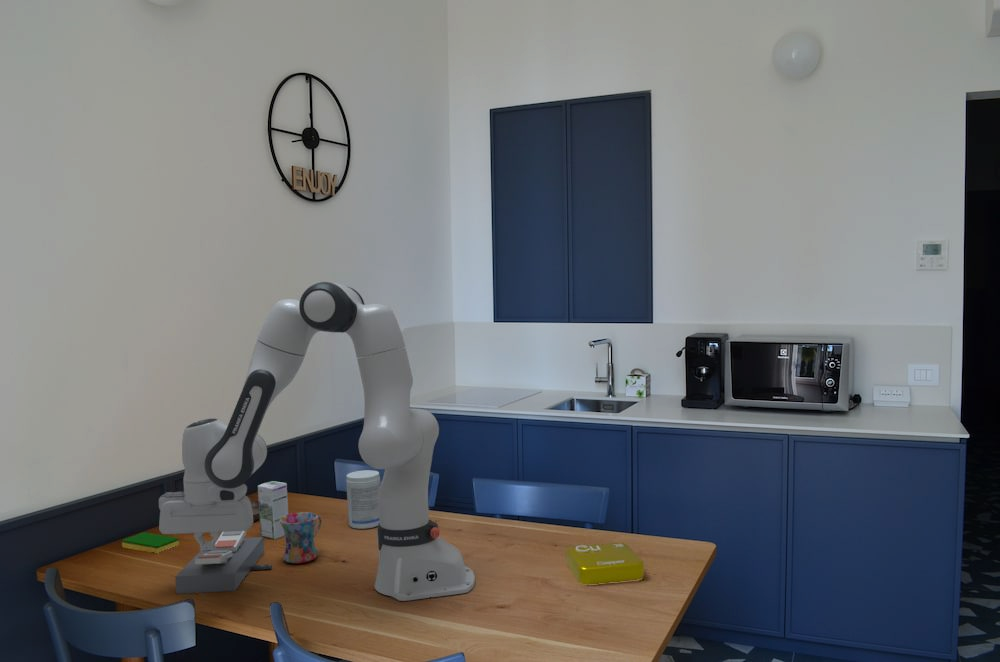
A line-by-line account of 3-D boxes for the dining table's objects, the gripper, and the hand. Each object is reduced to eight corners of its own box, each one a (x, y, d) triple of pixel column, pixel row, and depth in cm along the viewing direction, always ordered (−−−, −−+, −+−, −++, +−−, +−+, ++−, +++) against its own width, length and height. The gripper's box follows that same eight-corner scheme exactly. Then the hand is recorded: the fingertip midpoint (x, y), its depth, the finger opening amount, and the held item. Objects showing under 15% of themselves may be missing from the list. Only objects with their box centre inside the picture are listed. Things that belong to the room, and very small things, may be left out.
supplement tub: (389, 524, 215) (387, 473, 214) (361, 532, 209) (358, 479, 208) (369, 517, 222) (367, 468, 221) (341, 525, 216) (339, 474, 215)
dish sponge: (157, 555, 197) (157, 546, 196) (121, 548, 203) (121, 539, 203) (180, 546, 203) (179, 537, 203) (144, 540, 209) (143, 531, 209)
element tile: (581, 588, 166) (580, 567, 166) (565, 564, 181) (564, 544, 181) (646, 582, 168) (646, 561, 168) (625, 559, 183) (625, 539, 183)
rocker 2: (246, 536, 193) (245, 528, 192) (236, 554, 184) (235, 545, 183) (224, 537, 192) (223, 529, 192) (213, 556, 184) (212, 547, 183)
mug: (300, 568, 182) (298, 525, 182) (273, 562, 187) (271, 520, 187) (335, 553, 193) (333, 512, 192) (309, 547, 198) (307, 507, 197)
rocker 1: (232, 559, 180) (232, 549, 181) (220, 567, 171) (220, 556, 172) (208, 561, 180) (208, 550, 180) (195, 568, 171) (195, 557, 171)
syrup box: (290, 533, 209) (288, 482, 208) (273, 540, 204) (271, 487, 203) (276, 530, 212) (273, 479, 212) (259, 537, 207) (256, 484, 207)
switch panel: (284, 551, 195) (283, 536, 195) (258, 589, 170) (257, 572, 170) (212, 554, 194) (212, 539, 194) (176, 593, 169) (175, 576, 169)
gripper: (152, 496, 168) (155, 557, 169) (246, 492, 169) (248, 553, 170) (163, 488, 174) (166, 547, 175) (253, 485, 175) (256, 543, 176)
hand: (208, 550), depth 172 cm, fingers closed
